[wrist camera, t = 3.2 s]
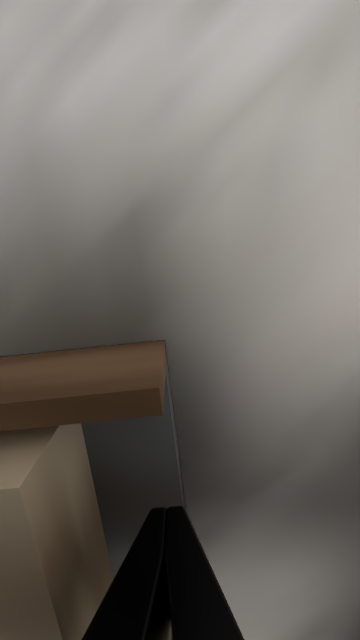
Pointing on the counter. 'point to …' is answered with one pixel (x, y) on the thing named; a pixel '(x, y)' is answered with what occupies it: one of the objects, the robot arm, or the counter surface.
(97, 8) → the counter surface
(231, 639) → the robot arm
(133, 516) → the brown wooden tray
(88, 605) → the tan wooden brick
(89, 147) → the counter surface
